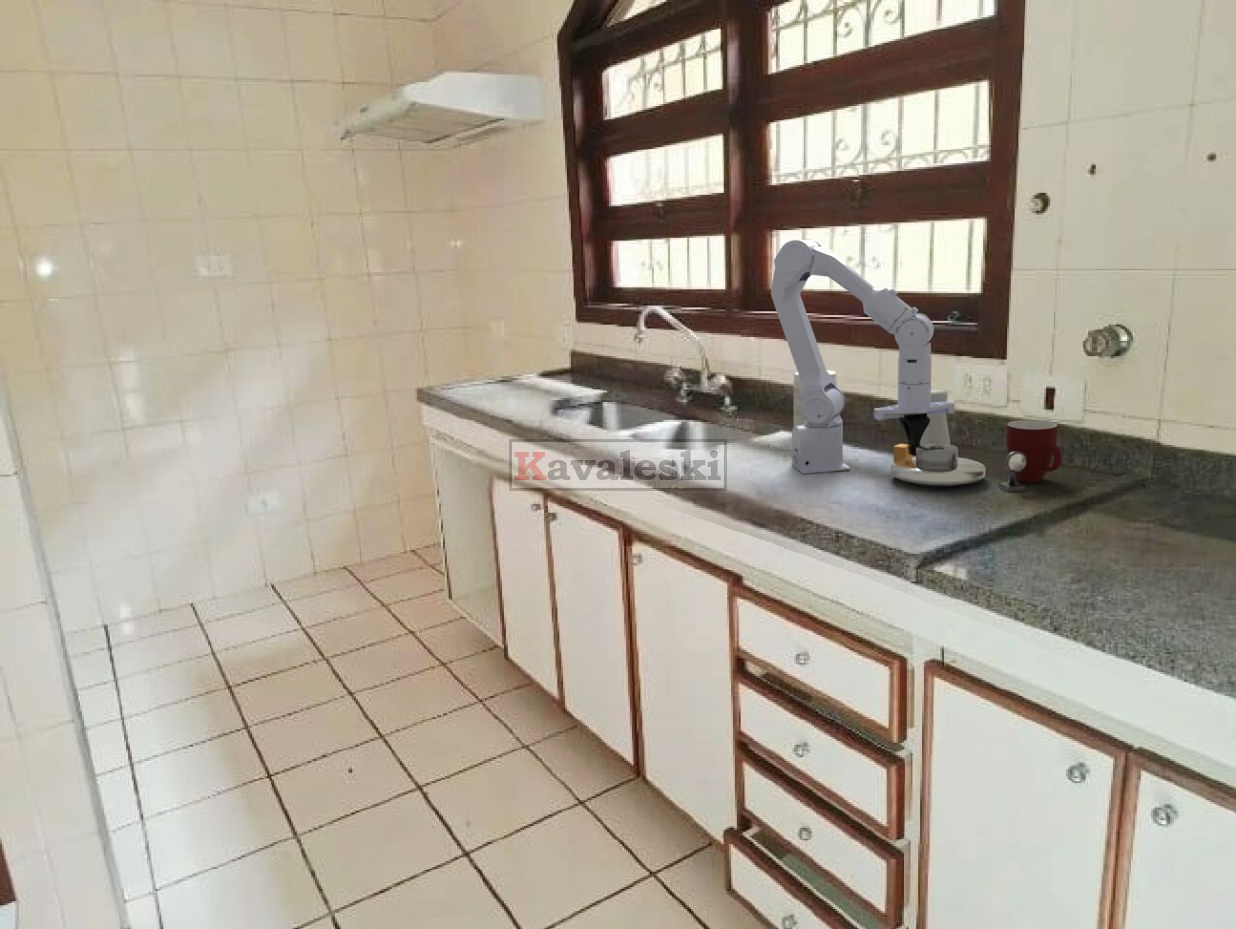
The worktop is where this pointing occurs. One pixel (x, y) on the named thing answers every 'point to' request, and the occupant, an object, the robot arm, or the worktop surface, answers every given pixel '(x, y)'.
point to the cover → (936, 457)
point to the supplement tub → (798, 400)
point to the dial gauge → (1014, 471)
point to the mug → (1034, 447)
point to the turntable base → (937, 485)
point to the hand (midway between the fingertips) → (913, 454)
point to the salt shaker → (937, 423)
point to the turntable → (908, 472)
